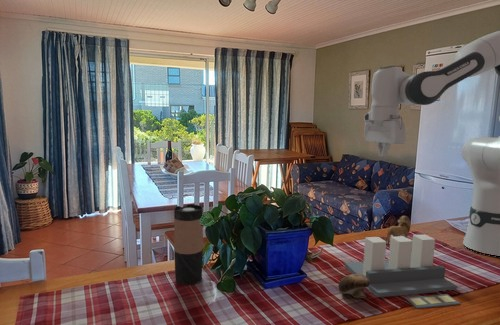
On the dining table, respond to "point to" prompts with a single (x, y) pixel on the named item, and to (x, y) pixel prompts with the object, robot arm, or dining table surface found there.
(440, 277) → the board
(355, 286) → the mushroom
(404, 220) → the lion figurine
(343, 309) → the dining table surface
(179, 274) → the travel mug
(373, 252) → the key
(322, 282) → the dining table surface
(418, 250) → the key
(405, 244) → the middle key
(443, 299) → the card
